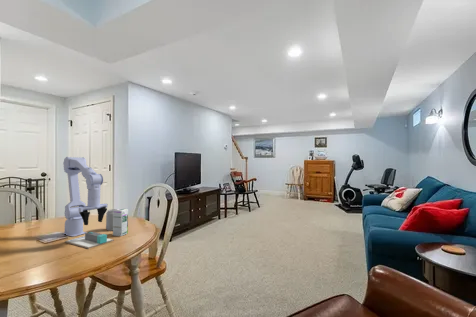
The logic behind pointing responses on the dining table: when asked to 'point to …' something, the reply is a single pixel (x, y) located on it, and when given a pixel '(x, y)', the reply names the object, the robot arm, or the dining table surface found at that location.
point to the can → (109, 220)
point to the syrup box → (120, 222)
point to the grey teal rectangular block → (96, 237)
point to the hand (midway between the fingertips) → (93, 223)
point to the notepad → (85, 242)
